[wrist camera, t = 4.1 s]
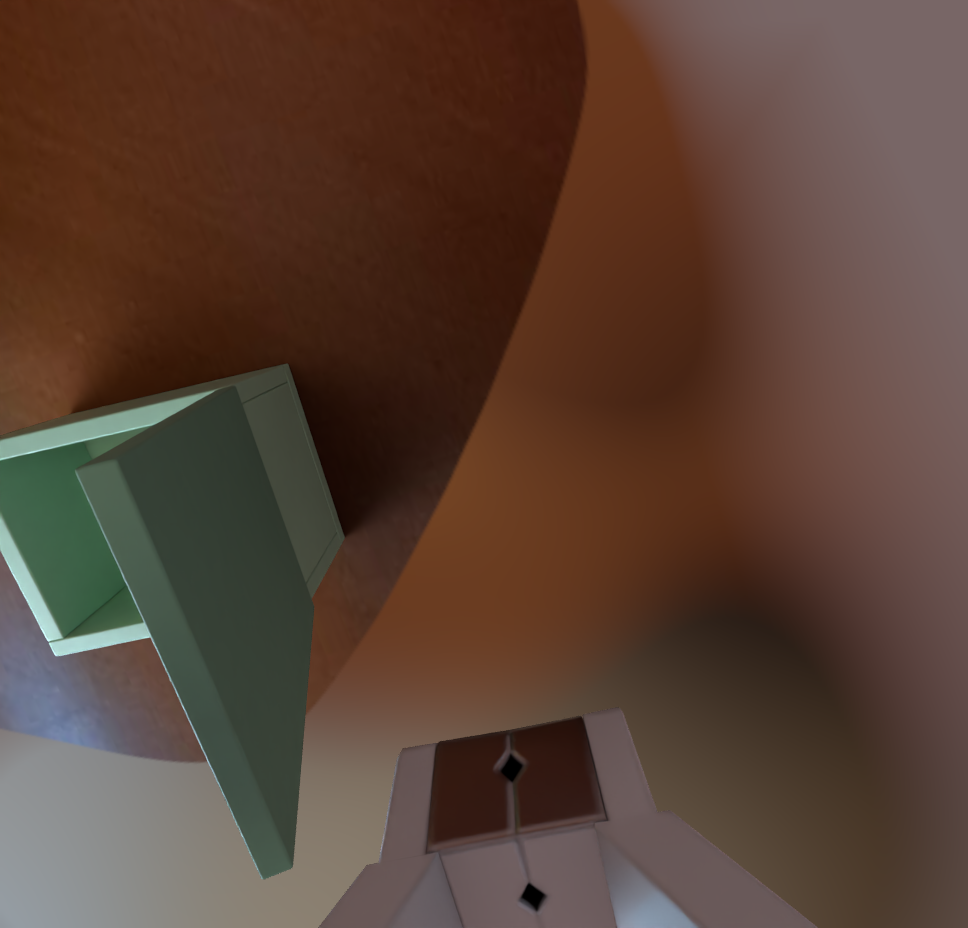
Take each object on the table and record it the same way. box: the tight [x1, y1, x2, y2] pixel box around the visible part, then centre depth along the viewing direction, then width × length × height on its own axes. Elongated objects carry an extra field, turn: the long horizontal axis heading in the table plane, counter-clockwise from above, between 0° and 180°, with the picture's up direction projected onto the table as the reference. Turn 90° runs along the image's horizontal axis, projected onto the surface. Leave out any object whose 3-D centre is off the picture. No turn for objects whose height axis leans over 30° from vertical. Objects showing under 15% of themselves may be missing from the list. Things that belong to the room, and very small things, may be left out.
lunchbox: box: [0, 364, 345, 656], centre depth 27 cm, size 12×10×7 cm
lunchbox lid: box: [75, 386, 314, 879], centre depth 17 cm, size 12×10×1 cm
